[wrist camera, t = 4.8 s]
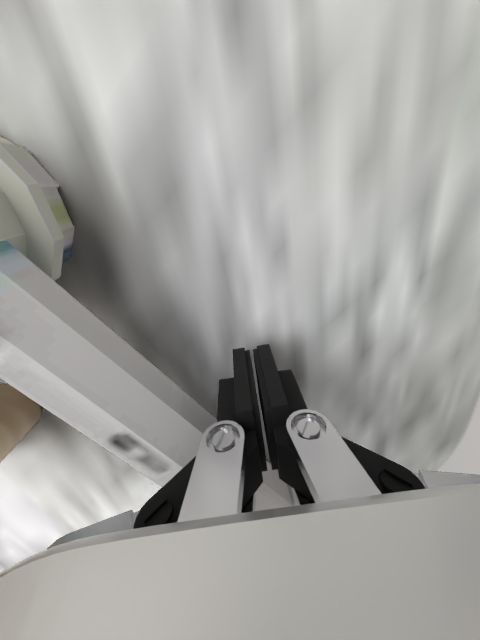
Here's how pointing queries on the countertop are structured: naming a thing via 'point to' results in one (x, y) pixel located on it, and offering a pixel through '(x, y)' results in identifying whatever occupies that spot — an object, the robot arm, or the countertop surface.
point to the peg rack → (15, 417)
